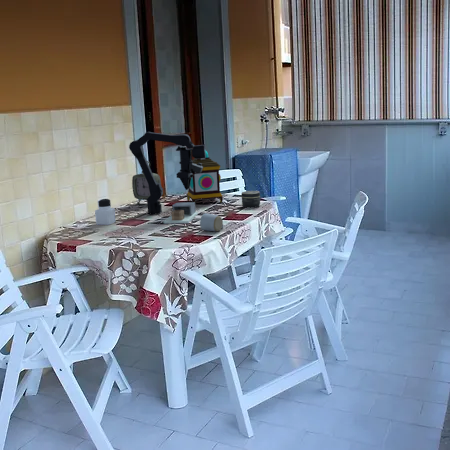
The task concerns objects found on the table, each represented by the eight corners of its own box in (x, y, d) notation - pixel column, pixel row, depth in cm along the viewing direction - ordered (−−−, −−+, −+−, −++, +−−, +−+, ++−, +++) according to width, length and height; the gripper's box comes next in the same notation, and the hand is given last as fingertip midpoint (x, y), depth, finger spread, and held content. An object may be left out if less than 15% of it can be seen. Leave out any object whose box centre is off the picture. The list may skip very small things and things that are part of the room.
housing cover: (172, 215, 302) (172, 205, 301) (177, 212, 311) (176, 202, 310) (191, 215, 301) (190, 205, 300) (195, 211, 309) (194, 202, 308)
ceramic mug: (215, 233, 265) (214, 216, 264) (199, 231, 269) (199, 214, 268) (228, 228, 274) (227, 211, 272) (212, 227, 278) (212, 210, 277)
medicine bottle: (116, 221, 300) (113, 198, 297) (108, 225, 293) (106, 200, 291) (103, 221, 302) (101, 197, 300) (95, 224, 296) (93, 200, 293)
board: (163, 223, 290) (163, 214, 289) (175, 214, 312) (174, 205, 311) (188, 223, 288) (187, 214, 287) (197, 213, 309) (197, 205, 308)
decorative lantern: (184, 200, 352) (181, 148, 346) (217, 197, 356) (214, 146, 350) (190, 205, 333) (187, 151, 327) (225, 202, 337) (223, 148, 331)
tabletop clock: (133, 205, 344) (130, 161, 338) (143, 202, 351) (140, 159, 346) (153, 206, 336) (150, 161, 331) (163, 203, 343) (160, 159, 338)
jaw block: (174, 218, 297) (173, 210, 296) (184, 218, 296) (183, 210, 295) (171, 220, 292) (171, 212, 291) (182, 220, 291) (181, 212, 290)
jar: (263, 205, 325) (263, 191, 323) (254, 208, 316) (254, 194, 315) (247, 204, 330) (247, 190, 328) (238, 207, 322) (237, 193, 320)
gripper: (197, 160, 299) (198, 192, 303) (204, 156, 317) (206, 186, 321) (175, 161, 301) (177, 192, 305) (184, 157, 319) (185, 186, 323)
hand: (187, 189), depth 313 cm, fingers open, 3 cm apart
